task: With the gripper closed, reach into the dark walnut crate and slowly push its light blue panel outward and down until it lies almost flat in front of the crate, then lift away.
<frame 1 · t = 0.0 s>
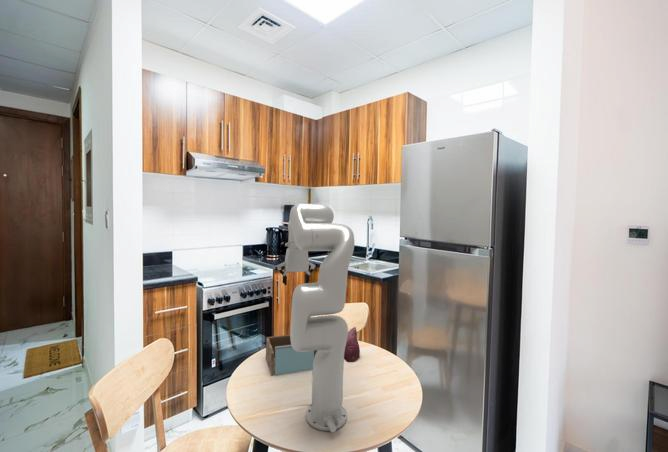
hand: (295, 283, 135), 31 cm above the table, tool pointing down, fingers open, 9 cm apart
light blue panel: (294, 358, 118), point 7 cm above the table, hinge at 0.0°
vegetable: (347, 356, 135), on the table
crate: (290, 365, 125), on the table
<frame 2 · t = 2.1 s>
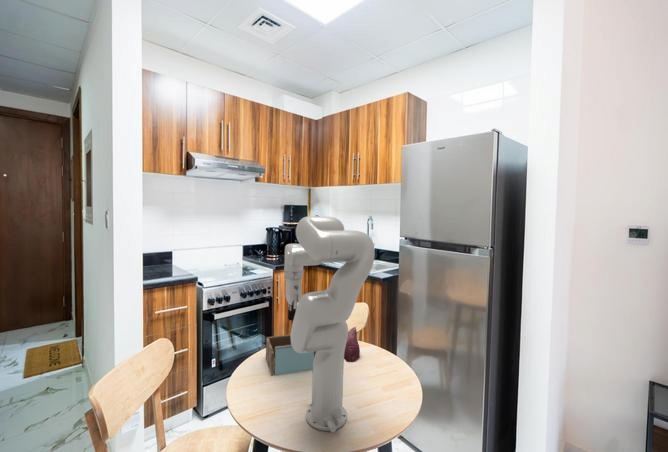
hand: (292, 319, 123), 20 cm above the table, tool pointing down, fingers closed
nothing on the table moved.
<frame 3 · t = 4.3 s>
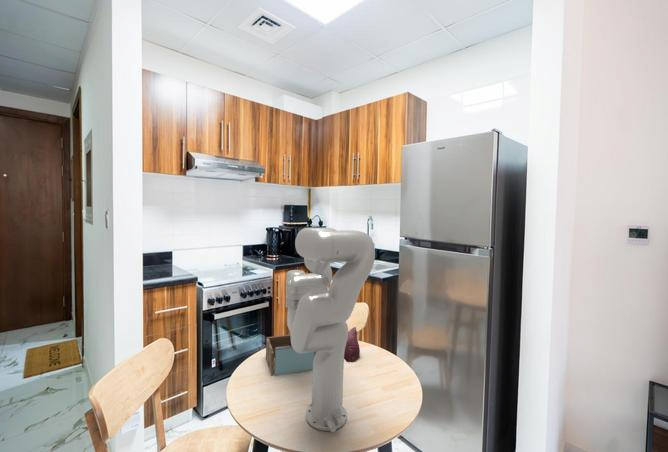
hand: (293, 348, 119), 10 cm above the table, tool pointing down, fingers closed
light blue panel: (294, 358, 118), point 7 cm above the table, hinge at 4.0°, touching gripper
everything else where it was.
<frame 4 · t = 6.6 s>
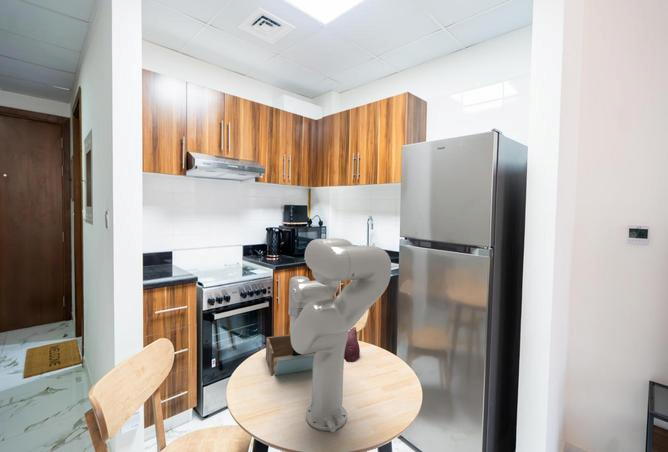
hand: (296, 357, 114), 8 cm above the table, tool pointing down, fingers closed
light blue panel: (296, 364, 115), point 6 cm above the table, hinge at 36.2°, touching gripper
everything else where it was.
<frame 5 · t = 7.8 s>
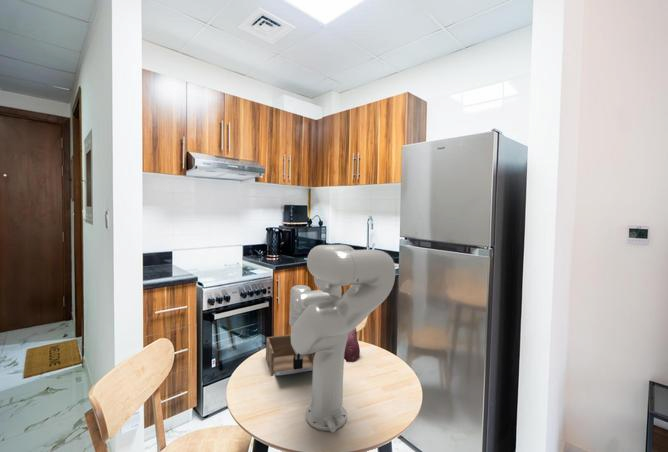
hand: (297, 368, 112), 6 cm above the table, tool pointing down, fingers closed
light blue panel: (297, 370, 113), point 4 cm above the table, hinge at 62.2°, touching gripper
everything else where it was.
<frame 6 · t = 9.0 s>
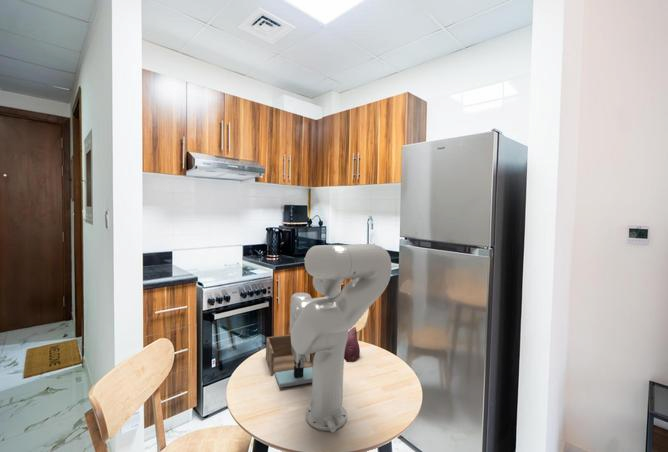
hand: (298, 376, 111), 3 cm above the table, tool pointing down, fingers closed
light blue panel: (297, 376, 113), point 2 cm above the table, hinge at 83.4°, touching gripper
everything else where it was.
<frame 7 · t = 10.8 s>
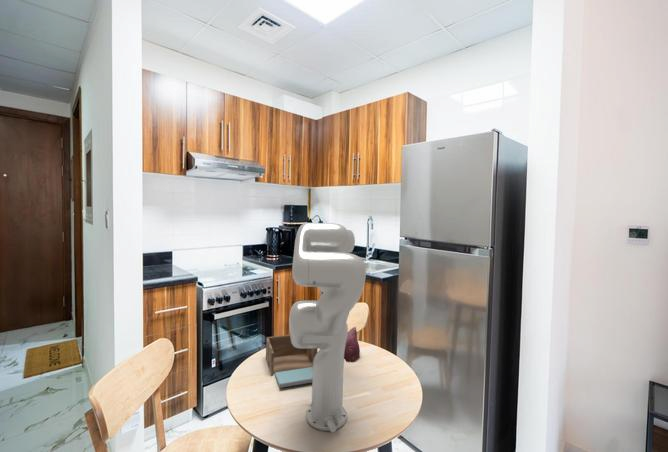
hand: (325, 309, 118), 26 cm above the table, tool pointing down, fingers closed
light blue panel: (297, 376, 113), point 2 cm above the table, hinge at 83.4°
everything else where it was.
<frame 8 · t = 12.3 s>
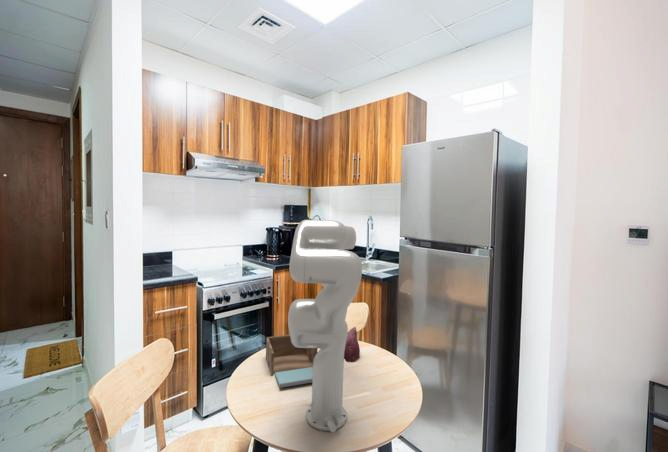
hand: (328, 305, 118), 27 cm above the table, tool pointing down, fingers closed
nothing on the table moved.
at the end: light blue panel at +83° (first picture: +0°); vegetable moved 0.3 cm from its start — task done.
